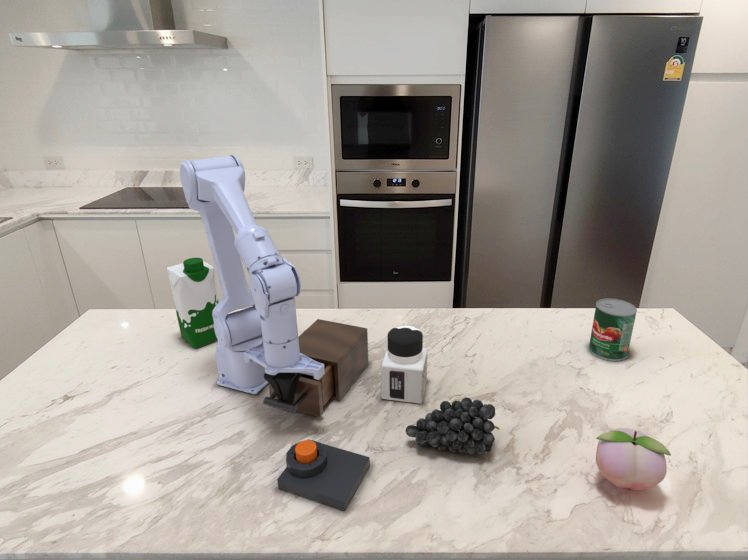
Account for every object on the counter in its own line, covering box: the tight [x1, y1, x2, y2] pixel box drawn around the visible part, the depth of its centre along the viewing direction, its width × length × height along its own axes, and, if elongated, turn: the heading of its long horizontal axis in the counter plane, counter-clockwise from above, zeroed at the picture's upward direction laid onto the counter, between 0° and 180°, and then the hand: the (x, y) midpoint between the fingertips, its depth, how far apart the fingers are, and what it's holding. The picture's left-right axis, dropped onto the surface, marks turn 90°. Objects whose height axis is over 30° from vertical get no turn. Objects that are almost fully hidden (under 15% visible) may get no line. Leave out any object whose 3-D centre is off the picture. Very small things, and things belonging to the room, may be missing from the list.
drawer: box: [262, 361, 336, 418], centre depth 89 cm, size 17×10×7 cm, turn 158°
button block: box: [276, 439, 371, 512], centre depth 73 cm, size 12×9×4 cm
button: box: [295, 439, 317, 464], centre depth 73 cm, size 3×3×2 cm
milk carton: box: [166, 257, 219, 350], centre depth 109 cm, size 9×9×20 cm
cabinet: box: [298, 318, 369, 402], centre depth 96 cm, size 14×12×9 cm
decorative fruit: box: [595, 427, 672, 491], centre depth 70 cm, size 9×8×10 cm
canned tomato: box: [588, 297, 638, 362], centre depth 103 cm, size 8×8×11 cm
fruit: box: [405, 397, 501, 456], centre depth 78 cm, size 9×8×15 cm
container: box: [380, 325, 428, 404], centre depth 91 cm, size 8×8×13 cm
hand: (287, 403), depth 84 cm, fingers closed, pressing on drawer
